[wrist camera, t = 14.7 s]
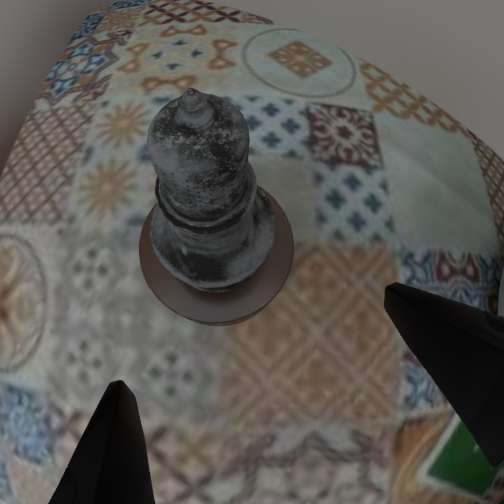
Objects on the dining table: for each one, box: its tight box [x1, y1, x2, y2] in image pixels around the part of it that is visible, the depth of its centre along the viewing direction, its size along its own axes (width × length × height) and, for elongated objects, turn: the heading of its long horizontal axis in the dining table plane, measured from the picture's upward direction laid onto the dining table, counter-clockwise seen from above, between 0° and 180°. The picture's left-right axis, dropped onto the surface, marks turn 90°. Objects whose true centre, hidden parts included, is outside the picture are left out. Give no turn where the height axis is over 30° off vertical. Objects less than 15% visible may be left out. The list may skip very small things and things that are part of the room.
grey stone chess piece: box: [147, 88, 276, 293], centre depth 12 cm, size 6×6×12 cm
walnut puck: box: [139, 187, 294, 326], centre depth 19 cm, size 9×9×4 cm
